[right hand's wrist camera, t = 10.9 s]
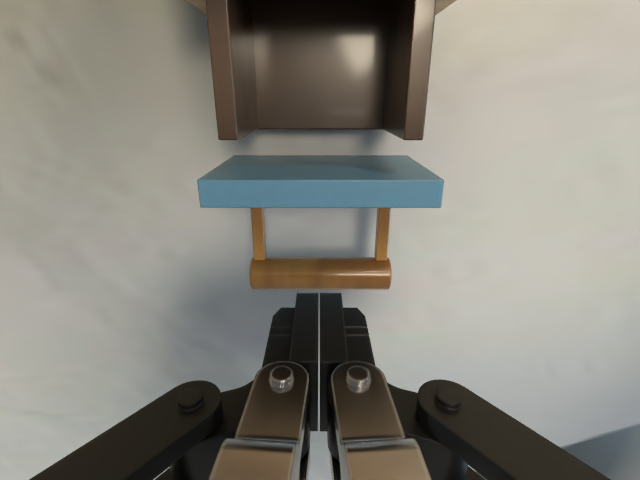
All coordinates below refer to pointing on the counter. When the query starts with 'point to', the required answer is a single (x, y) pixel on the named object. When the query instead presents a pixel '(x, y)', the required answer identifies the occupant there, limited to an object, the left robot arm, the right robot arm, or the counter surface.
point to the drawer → (320, 119)
